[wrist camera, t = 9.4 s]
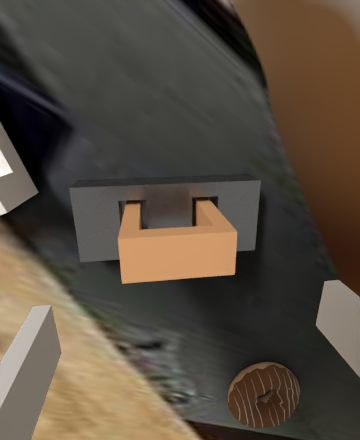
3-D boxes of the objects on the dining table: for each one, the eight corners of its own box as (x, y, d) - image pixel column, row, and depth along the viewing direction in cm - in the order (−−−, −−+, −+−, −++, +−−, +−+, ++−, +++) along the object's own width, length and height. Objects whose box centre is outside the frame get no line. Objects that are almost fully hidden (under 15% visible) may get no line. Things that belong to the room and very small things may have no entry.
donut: (213, 404, 41) (220, 431, 37) (241, 349, 38) (251, 374, 35) (273, 412, 44) (285, 439, 40) (303, 362, 41) (320, 386, 37)
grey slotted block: (78, 180, 28) (69, 187, 24) (247, 174, 30) (260, 180, 26) (87, 247, 30) (80, 262, 27) (243, 237, 32) (254, 250, 29)
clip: (126, 199, 28) (117, 238, 18) (206, 195, 29) (237, 231, 19) (129, 230, 29) (122, 283, 20) (205, 226, 30) (234, 274, 21)
